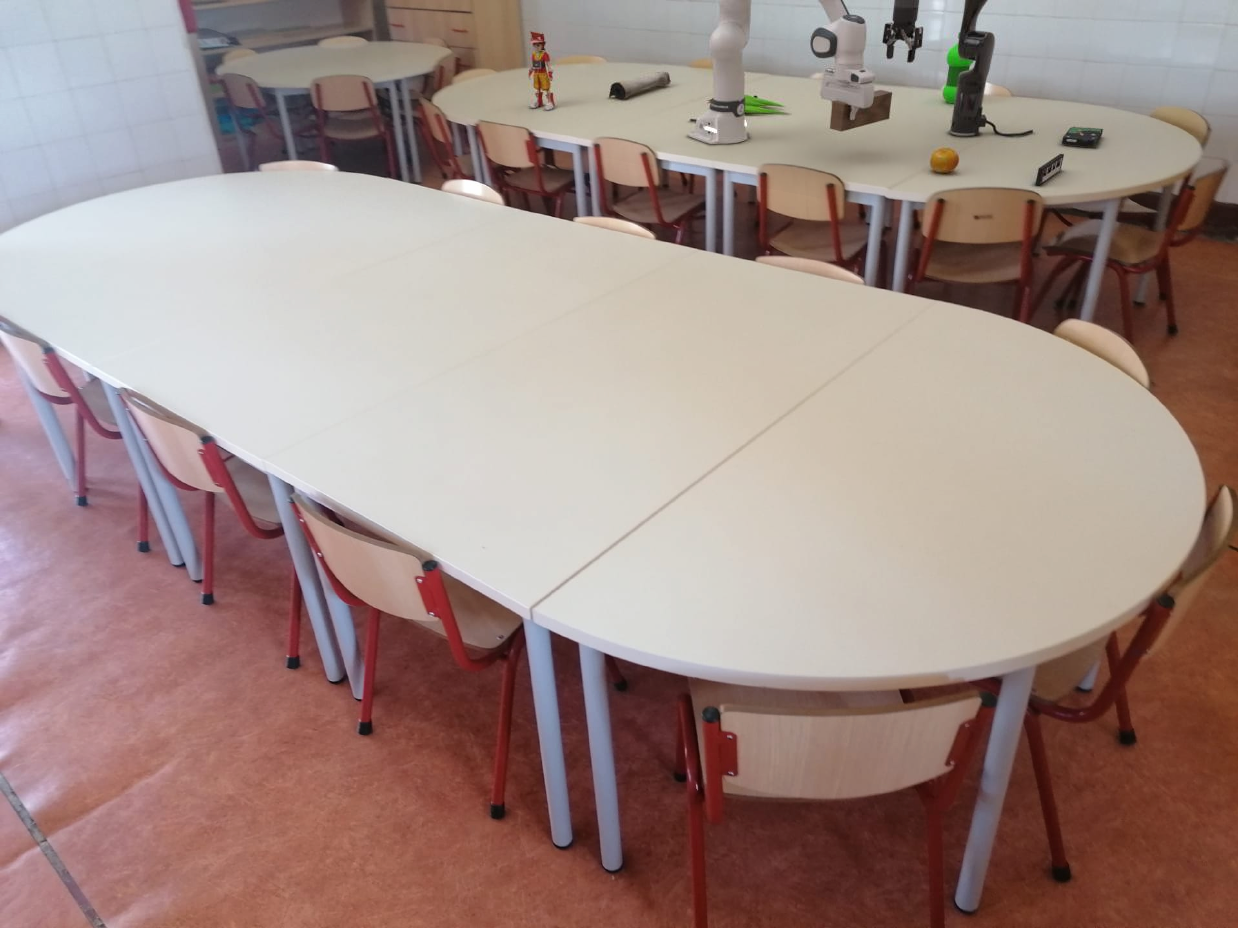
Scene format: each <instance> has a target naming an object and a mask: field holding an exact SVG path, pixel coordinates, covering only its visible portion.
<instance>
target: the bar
mask: <svg viewBox="0 0 1238 928" xmlns="http://www.w3.org/2000/svg"><path fill="white" fill-rule="evenodd" d="M892 97H893V92H892V91H888V90H885V89H884V90H883V89H878V90H874V99H873V104H872V105H871V106H870V107H868V108H860V107H859V109H858V111H857V112H856V114H855V119H854V120H849V119H848V114H849V113H851V111H852V109H851V105H848V104H847V103H843V102H839V101H833V102H832V105H831V113H830V123H829V129H830V130H834V131H837V132H841V133H842V132H846V131H850V130H853V129H856V128H860V127H864V126H867V125H872V124H874V123H879V122H882V121H887V120H889V119H890V114H891V106H892Z"/></svg>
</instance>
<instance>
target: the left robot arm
mask: <svg viewBox="0 0 1238 928" xmlns="http://www.w3.org/2000/svg"><path fill="white" fill-rule="evenodd" d="M817 1H818V2H819V3H820V4H821V6H822V8H823V10H824V12H825V14H826V16H827V18H828V20H829V22H830V23H828V24H825V25H821V26H819V27H817V28H816V29H815V30H814V31H813V32H812V34H811V36H810V41H809V42H810V43H809V45H810V50H811V53H812V54H813V56H815V57H816V58H818V59H829V58H833V59H834V68H830V67H828V68H827V69H825V71H824V72H823V76H822V80H821V84H820V90H819V96H820V98H821V99H823V100H826V101H830V105H831V106H832V102H833V101H839V102H843V103H847V104H848V105H851V109H852V111H851V113H849V114H848V119H849V120H854V119H855V114H856V112H857V111H858V109H859V107H860V108H868V107H870V106H871V105H872V104H873V99H874V91H875V84H874V81H875V79H876V74H875V73H874V72H873V71H871V69H869V68H867V67H866V66H865V65H864V64H865V63H864V62H865V60H864V59H865V58H864V52H865V49H866V45H867V44H866V43H867V23H866V20H865V18H863V16H860V15H857V14H851V13H850V11H849V10H848V8H847V6H846V4H845V2H844V0H817ZM718 7H719V8H718V9H719V10H718V11H719V12H718V13H719V14H718V15H719V17H718V26H717V27H716V28H715V29H714V31H713V32H712V33H711V35H710V38H709V42H708V43H709V44H708V45H709V46H708V47H709V51H710V60H711V67H712V76H713V78H712V80H713V83H712V88H713V89H712V93H713V94H712V96H713V97H711V99H707V104H709V107H708V109H707V110H706V111H705V112H703V113H702V114H701V115H700V116H698V118H697V119H696V118H690V119H689V121H690V122H695V126H694V130H692V131H690V132H689V133H688V137H689V138H692V139H695V140H698V141H700V142H704V143H707V144H709V145H718V144H721V145H722V144H723V145H725V144H726V145H727V144H736V143H742V142H744V141H746V140H748V139H749V138H748V137H749V136H748V133H747V121H746V117H745V113H744V111H745V97H744V95H745V85H746V83H745V82H746V79H745V78H746V73H745V70H744V69H745V68H744V59H743V50H744V49H745V48H746V47H747V46H748V42H749V39H750V29H751V15H752V14H751V13H752V12H751V11H752V8H751V7H752V0H718Z"/></svg>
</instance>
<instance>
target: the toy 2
mask: <svg viewBox="0 0 1238 928" xmlns="http://www.w3.org/2000/svg"><path fill="white" fill-rule="evenodd" d="M744 97H745V111H744V114H786V112H784V111H780V110H775V109H770V108H765V107H767V106H768V107H778V108H779V107H780V108H786V106H785V105H782V104H780V103H778V102H775V101H772V100H768V99H764V98H759V97H758V95H753V96H751V95H749V94H744Z"/></svg>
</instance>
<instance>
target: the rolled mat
mask: <svg viewBox="0 0 1238 928" xmlns="http://www.w3.org/2000/svg"><path fill="white" fill-rule="evenodd" d="M671 83H672V81H671V77H670V74H669V72H668V71H658V72H654V73H649V74H645V75H640V76H637V77H633V78H628V79H623V80H620V81H616V82H613V83H612V84H611V85H610V89H609V95H608V97H609V98H611V97H616V99H620V100H622V101H623V100H626V99H627V98H629V97H630V96H632V95H635V94H636V93H638V92H640V91H643V90H644V89H647V88H650V87H655V86H658V87H659V86H661V87H665V86H669V85H670V84H671Z"/></svg>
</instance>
